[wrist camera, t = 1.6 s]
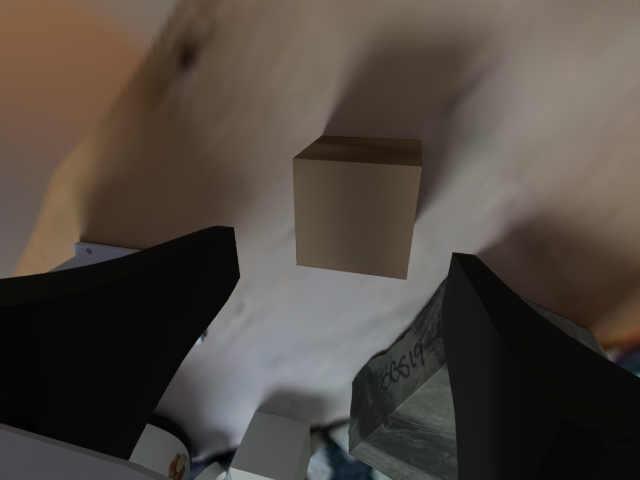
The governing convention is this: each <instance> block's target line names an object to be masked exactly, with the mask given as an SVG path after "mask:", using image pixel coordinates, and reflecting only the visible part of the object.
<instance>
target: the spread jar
mask: <svg viewBox="0 0 640 480" xmlns="http://www.w3.org/2000/svg"><path fill="white" fill-rule="evenodd" d="M129 461H130V462H133V463H137V464H139V465H142V466H144V467H146V468H148V469H151V470H153V471H155V472H157V473H160V474H162V475H164V476H166V477H169V478H171V479H173V480H187V479H188V476H189V473H190V468H191V463H192V446H191V442H190V440H189V438H188V436H187V435H186V433H185V432H184V431H183V430H182V429H181V428H180V427H179V426H177V425H176V424H175V423H173V422H172V421H170V420H168V419H166V418H164V417H162V416H159V415H156V414H152V415H151V417H150V419H149V421H148V423H147V425H146V427H145V429H144V431H143V433H142V435H141V437H140V439H139V441H138V442H137V444H136V446H135V448H134V450H133V453H132V455H131V457H130V459H129ZM226 473H227V471H226V470H225V469H224V468H223V467H222V466H221V465H220V464H219V463H218V462H214V463H213V464H211V465H210V466H208V467H207V468H206V469H205V470H204V471H203V472H202V473H201V474H200V475H199V476H198V477H197V478H196V479H195V480H224V478H225V476H226Z"/></svg>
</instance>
